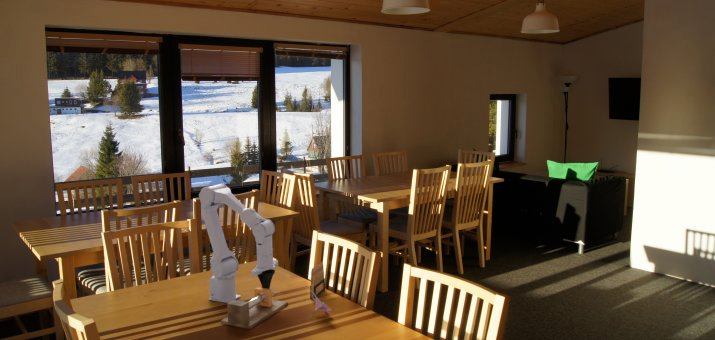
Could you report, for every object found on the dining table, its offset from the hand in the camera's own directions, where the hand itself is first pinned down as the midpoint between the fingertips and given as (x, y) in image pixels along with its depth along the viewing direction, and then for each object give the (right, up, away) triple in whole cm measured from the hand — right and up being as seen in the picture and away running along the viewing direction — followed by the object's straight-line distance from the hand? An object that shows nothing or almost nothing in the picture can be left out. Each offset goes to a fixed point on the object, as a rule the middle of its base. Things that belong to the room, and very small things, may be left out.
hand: (266, 289), depth 218 cm
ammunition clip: (+18, -5, +13) cm, 23 cm away
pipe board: (-3, -8, -5) cm, 10 cm away
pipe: (-2, -4, -5) cm, 7 cm away
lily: (+21, -8, -9) cm, 24 cm away
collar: (-1, -5, -1) cm, 5 cm away
